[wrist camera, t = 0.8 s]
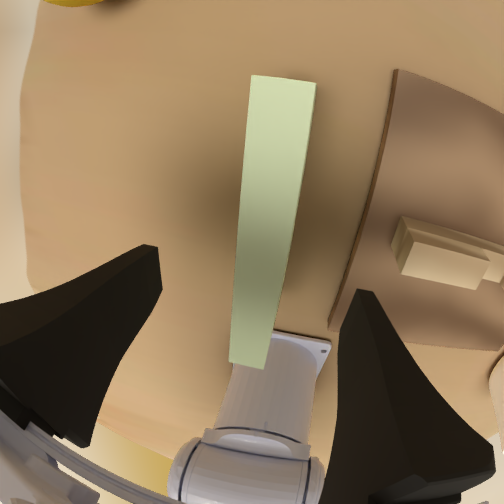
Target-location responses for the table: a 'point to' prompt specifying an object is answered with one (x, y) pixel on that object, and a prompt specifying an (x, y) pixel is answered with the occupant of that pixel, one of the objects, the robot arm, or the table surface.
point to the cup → (498, 396)
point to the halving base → (434, 220)
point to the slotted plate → (268, 209)
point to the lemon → (73, 2)
